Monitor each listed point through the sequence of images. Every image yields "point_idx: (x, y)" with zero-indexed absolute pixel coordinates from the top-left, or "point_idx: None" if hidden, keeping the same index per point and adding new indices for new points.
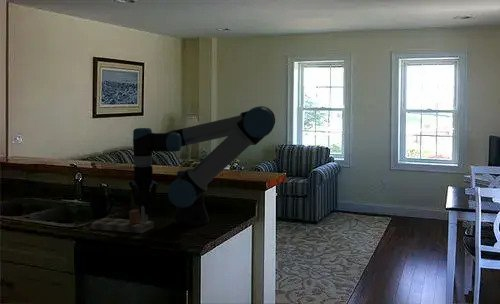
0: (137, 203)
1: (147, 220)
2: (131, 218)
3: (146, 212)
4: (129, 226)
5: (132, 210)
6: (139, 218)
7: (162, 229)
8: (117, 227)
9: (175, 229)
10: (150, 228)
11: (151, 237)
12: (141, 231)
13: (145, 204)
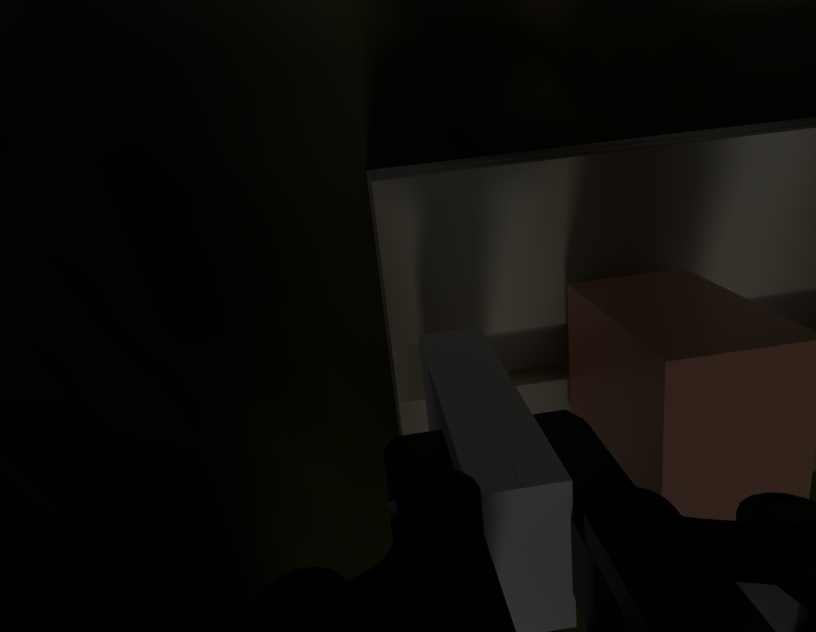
0: (743, 532)
1: (430, 430)
2: (685, 297)
3: (414, 455)
4: (603, 151)
5: (792, 439)
6: (591, 423)
7: (225, 446)
8: (805, 125)
9: (62, 515)
10: (396, 407)
11: (53, 10)
12: (374, 173)
13: (444, 563)
